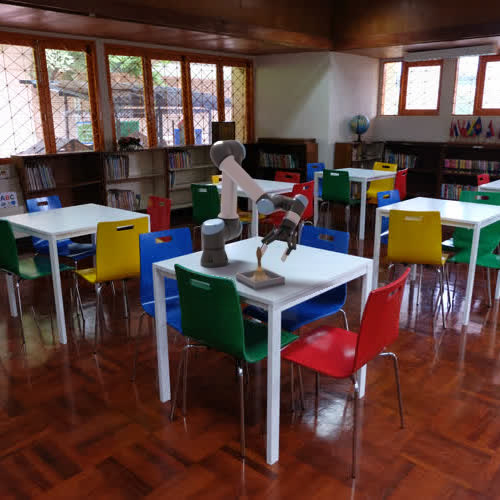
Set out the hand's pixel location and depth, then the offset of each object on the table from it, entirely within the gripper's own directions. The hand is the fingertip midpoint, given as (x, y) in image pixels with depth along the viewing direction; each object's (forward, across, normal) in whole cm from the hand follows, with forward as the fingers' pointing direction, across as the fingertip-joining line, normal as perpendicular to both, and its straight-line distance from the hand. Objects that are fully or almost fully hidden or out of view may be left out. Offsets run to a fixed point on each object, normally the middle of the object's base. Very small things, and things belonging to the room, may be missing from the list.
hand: (271, 258), depth 239 cm
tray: (+13, 0, -1) cm, 13 cm away
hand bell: (+12, 0, 0) cm, 12 cm away
